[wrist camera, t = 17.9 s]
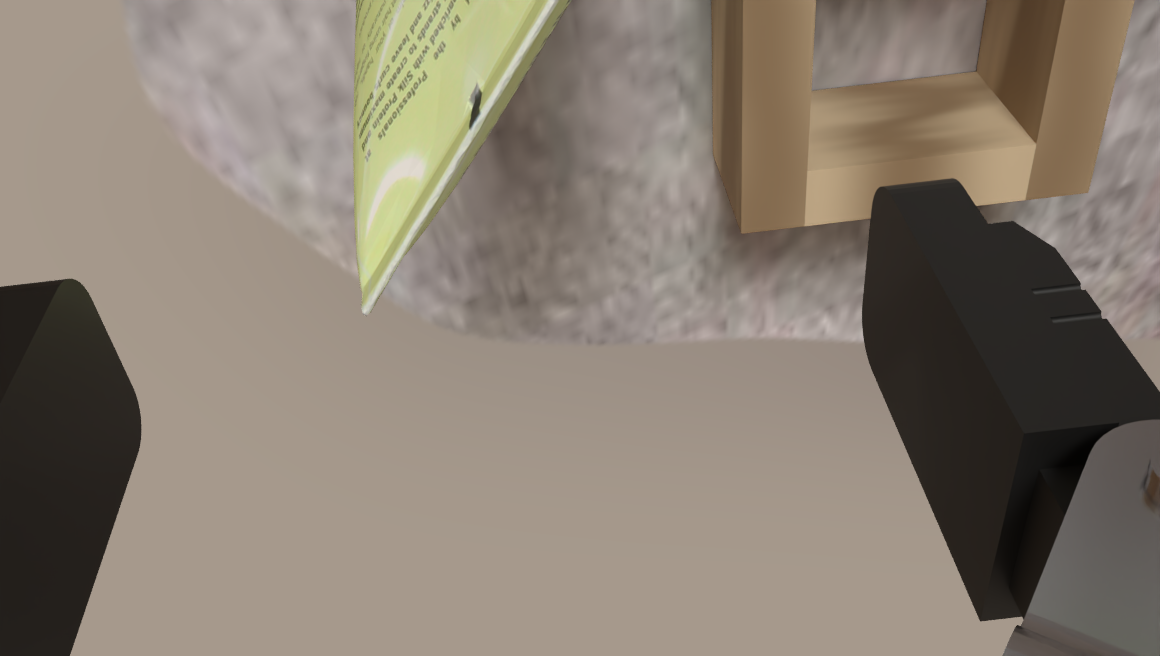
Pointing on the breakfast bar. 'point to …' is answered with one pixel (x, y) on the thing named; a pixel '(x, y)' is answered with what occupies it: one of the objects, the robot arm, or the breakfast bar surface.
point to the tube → (428, 109)
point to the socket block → (909, 112)
